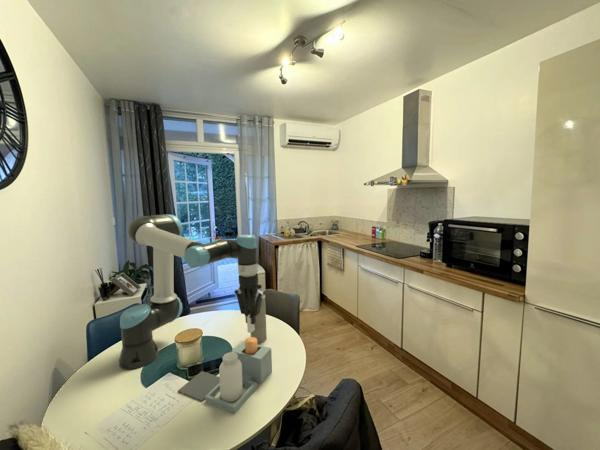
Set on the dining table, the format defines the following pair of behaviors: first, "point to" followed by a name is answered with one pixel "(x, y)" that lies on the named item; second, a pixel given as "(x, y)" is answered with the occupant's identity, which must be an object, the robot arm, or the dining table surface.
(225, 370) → the pill bottle
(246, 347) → the plunger
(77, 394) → the dining table surface
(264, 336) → the thermos bottle
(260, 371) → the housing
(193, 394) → the mat
